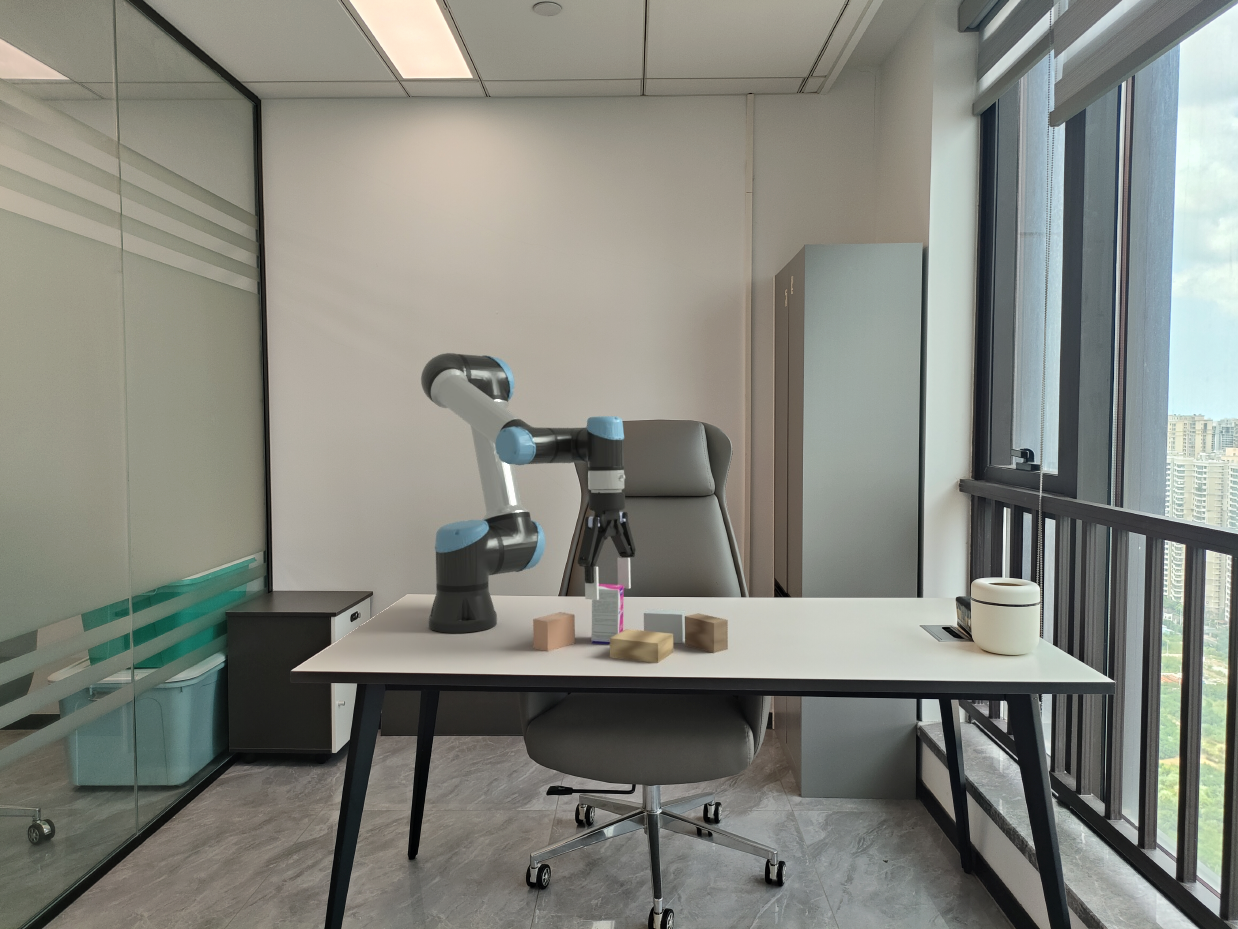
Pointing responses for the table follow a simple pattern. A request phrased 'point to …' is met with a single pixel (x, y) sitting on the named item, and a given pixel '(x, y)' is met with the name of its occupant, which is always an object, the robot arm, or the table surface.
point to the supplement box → (607, 613)
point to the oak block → (641, 645)
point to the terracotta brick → (553, 631)
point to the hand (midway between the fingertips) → (608, 593)
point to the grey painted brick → (666, 622)
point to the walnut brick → (706, 632)
